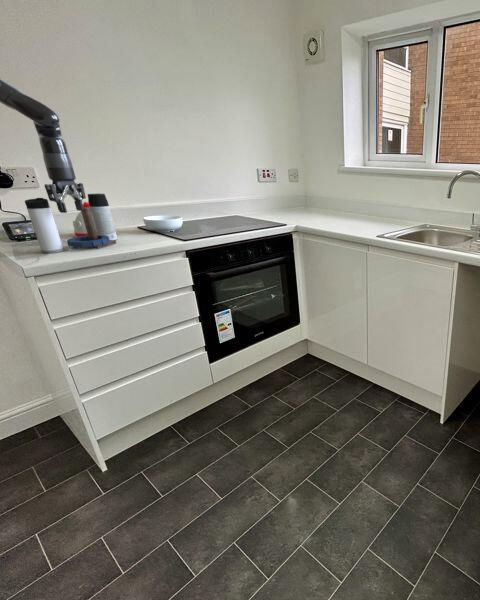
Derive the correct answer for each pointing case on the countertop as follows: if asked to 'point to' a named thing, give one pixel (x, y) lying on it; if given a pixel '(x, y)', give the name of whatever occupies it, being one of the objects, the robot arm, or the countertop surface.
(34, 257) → the countertop surface
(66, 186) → the robot arm
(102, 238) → the ring
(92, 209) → the spray can
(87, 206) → the kitchen timer
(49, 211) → the travel mug
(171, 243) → the countertop surface
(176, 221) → the cereal bowl
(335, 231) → the countertop surface
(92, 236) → the post
